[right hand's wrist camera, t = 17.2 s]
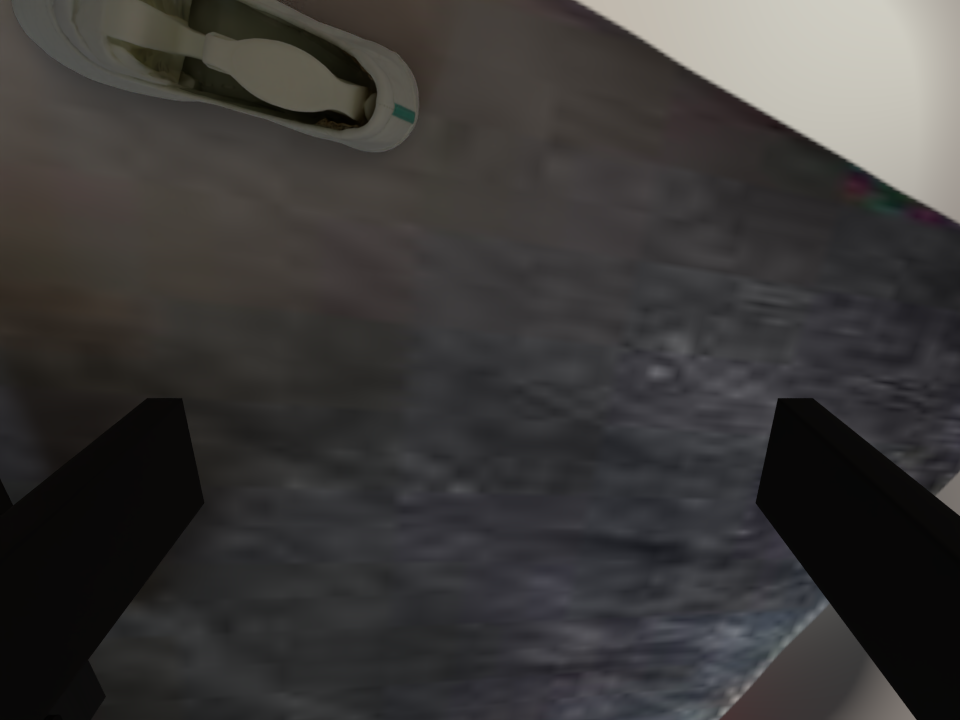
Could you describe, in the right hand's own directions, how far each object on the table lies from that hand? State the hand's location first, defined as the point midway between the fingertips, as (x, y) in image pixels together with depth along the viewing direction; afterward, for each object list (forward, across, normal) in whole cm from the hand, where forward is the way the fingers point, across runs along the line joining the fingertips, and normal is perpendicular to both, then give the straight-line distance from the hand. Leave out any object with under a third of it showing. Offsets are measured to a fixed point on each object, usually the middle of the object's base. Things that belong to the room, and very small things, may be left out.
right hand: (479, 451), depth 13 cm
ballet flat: (+29, -15, +11) cm, 35 cm away
